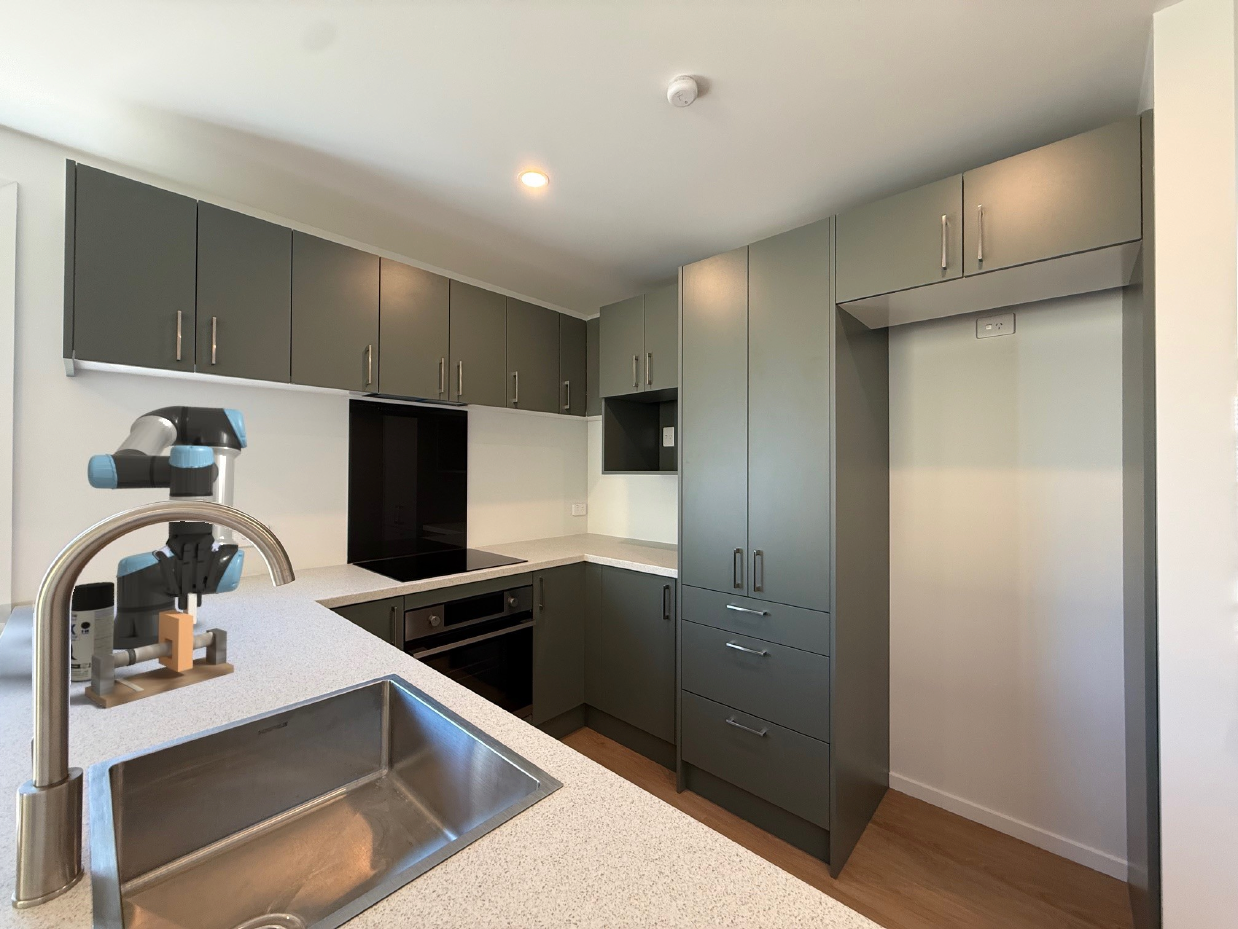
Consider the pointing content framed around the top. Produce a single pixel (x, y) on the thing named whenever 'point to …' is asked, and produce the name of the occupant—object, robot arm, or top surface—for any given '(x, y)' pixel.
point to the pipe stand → (159, 679)
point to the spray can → (90, 626)
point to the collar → (177, 639)
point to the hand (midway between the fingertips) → (189, 623)
